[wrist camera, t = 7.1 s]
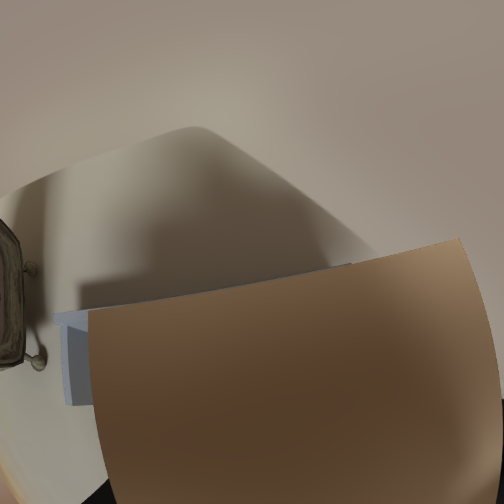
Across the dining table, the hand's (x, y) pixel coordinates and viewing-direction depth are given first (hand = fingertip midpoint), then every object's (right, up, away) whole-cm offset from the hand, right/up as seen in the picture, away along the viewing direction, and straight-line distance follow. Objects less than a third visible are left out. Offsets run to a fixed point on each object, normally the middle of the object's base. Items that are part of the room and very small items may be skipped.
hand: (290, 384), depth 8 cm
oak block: (+1, -4, +5) cm, 7 cm away
